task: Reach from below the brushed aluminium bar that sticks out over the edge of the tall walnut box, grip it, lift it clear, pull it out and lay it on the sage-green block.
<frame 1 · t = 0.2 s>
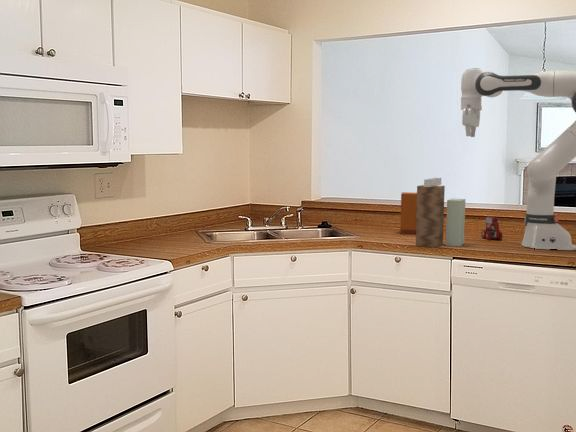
hand: (470, 136, 306), 48 cm above the counter, tool pointing down, fingers open, 8 cm apart
green block: (454, 244, 303), on the counter
walnut box: (429, 244, 302), on the counter
aluminium bar: (432, 185, 302), point 26 cm above the counter, touching walnut box
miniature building: (410, 233, 341), on the counter
toy fire truck: (491, 239, 321), on the counter
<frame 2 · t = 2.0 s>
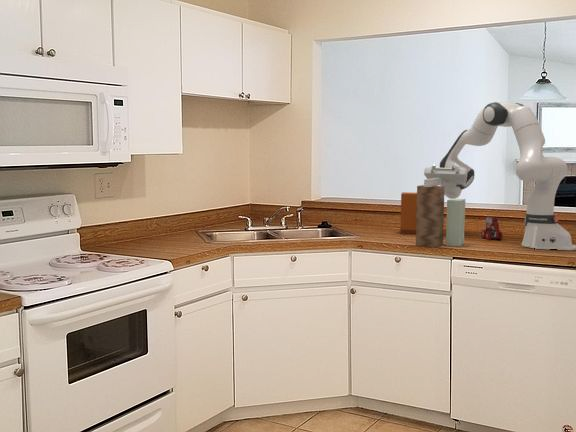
hand: (443, 166, 320), 34 cm above the counter, tool pointing upward, fingers open, 8 cm apart
nothing on the counter moved.
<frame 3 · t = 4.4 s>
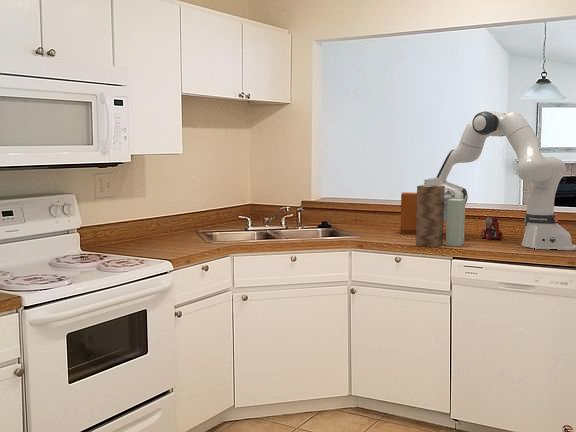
hand: (438, 189, 312), 23 cm above the counter, tool pointing upward, fingers open, 8 cm apart
nothing on the counter moved.
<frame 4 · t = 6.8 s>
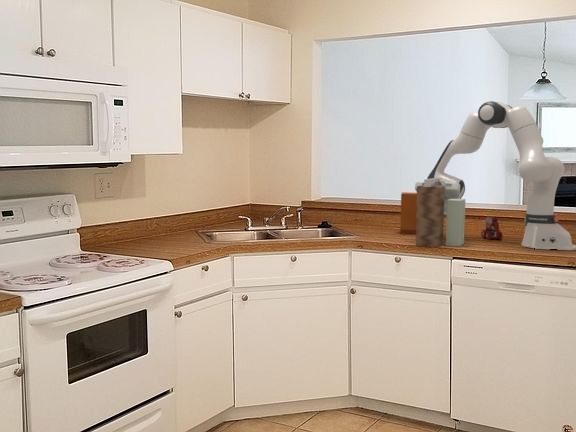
hand: (434, 180, 305), 28 cm above the counter, tool pointing upward, fingers closed on aluminium bar, 3 cm apart
aluminium bar: (432, 185, 302), point 26 cm above the counter, touching gripper, walnut box
everything else where it was.
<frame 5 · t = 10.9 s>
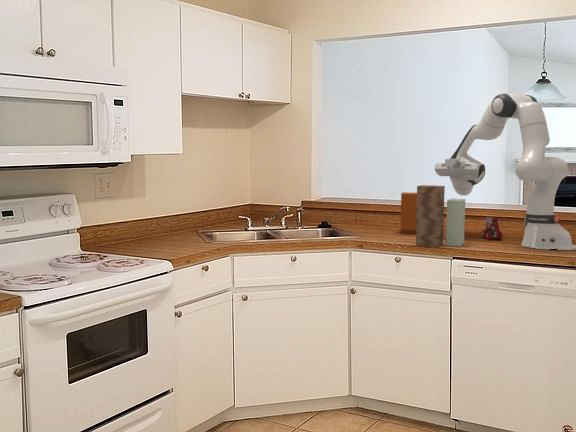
hand: (454, 161, 314), 36 cm above the counter, tool pointing upward, fingers closed on aluminium bar, 3 cm apart
aluminium bar: (452, 165, 312), point 35 cm above the counter, touching gripper
everything else where it was.
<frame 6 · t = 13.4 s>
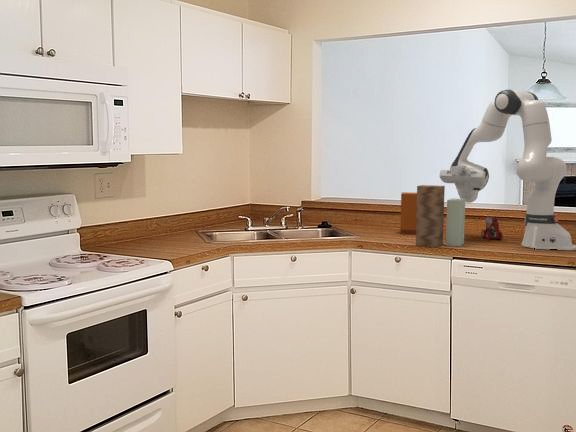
hand: (460, 168, 305), 34 cm above the counter, tool pointing upward, fingers closed on aluminium bar, 3 cm apart
aluminium bar: (458, 173, 302), point 32 cm above the counter, touching gripper
everything else where it was.
when the fingers open (23 cm above the counter, at t = 15.3 s): aluminium bar drops 1 cm, resting on green block.
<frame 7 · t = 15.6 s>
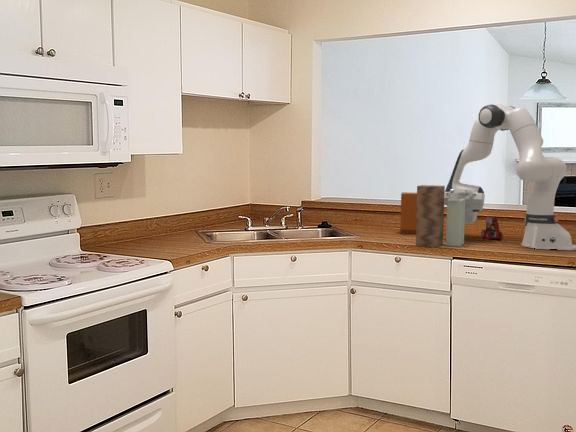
hand: (459, 190, 306), 23 cm above the counter, tool pointing upward, fingers open, 5 cm apart
aluminium bar: (457, 199, 304), point 20 cm above the counter, touching green block
everything else where it was.
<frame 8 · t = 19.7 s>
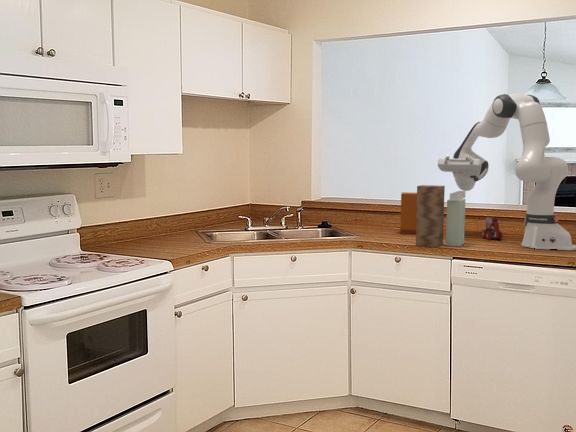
hand: (457, 156, 318), 38 cm above the counter, tool pointing upward, fingers open, 8 cm apart
nothing on the counter moved.
at the end: aluminium bar inside the target area on the green block (2.1 cm from its centre), point 20.0 cm above the green block's base; aluminium bar touching green block; the gripper is holding nothing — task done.
